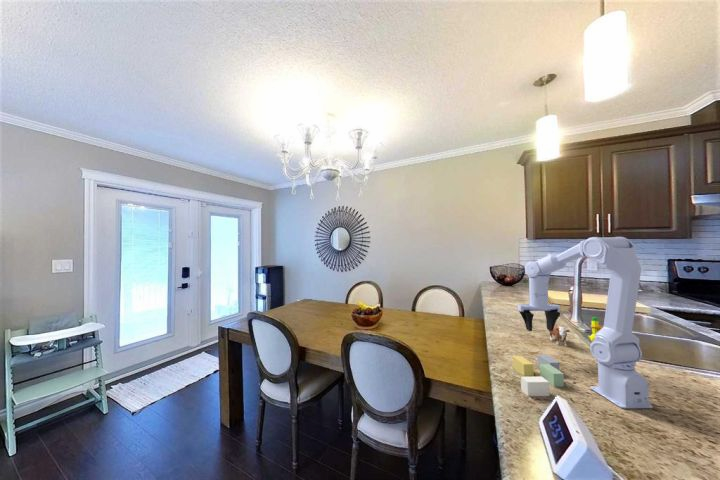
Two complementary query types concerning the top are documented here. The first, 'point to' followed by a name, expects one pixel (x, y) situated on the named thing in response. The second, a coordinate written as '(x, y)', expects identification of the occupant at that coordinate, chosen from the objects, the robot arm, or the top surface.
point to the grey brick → (547, 361)
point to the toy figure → (594, 328)
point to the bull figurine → (558, 334)
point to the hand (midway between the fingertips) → (539, 330)
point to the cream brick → (535, 386)
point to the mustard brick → (523, 366)
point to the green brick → (552, 375)
